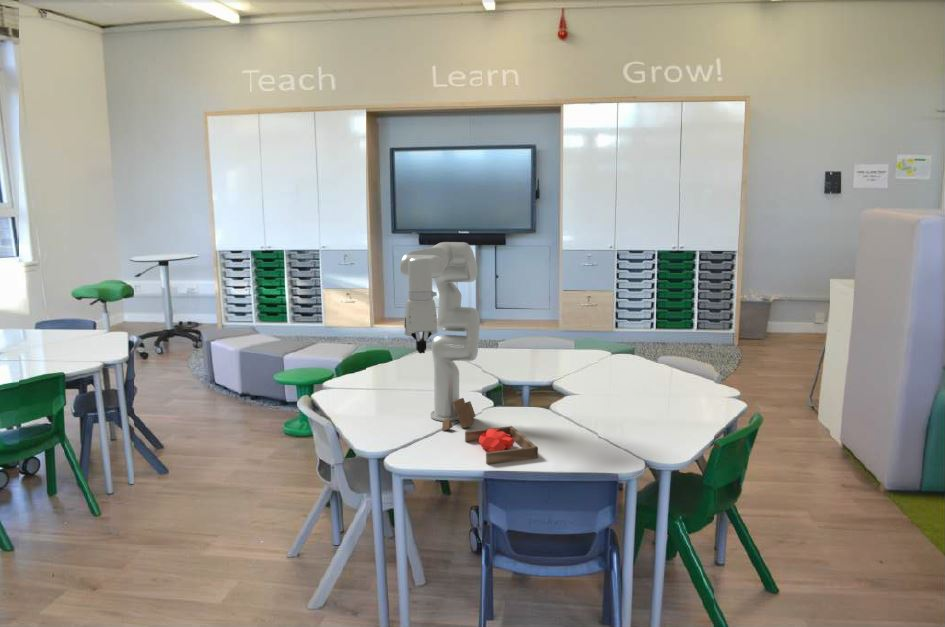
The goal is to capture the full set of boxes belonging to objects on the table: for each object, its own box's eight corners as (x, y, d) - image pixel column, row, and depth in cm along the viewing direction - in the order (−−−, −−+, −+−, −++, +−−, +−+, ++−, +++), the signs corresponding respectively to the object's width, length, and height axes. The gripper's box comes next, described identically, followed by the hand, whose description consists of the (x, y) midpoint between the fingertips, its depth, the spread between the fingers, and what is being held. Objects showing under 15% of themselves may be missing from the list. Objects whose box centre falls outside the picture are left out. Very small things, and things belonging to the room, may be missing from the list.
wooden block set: (467, 423, 265) (457, 398, 266) (485, 417, 261) (476, 391, 262) (443, 435, 250) (434, 408, 250) (463, 429, 246) (453, 402, 246)
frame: (465, 441, 239) (465, 431, 238) (511, 435, 244) (511, 426, 244) (487, 464, 218) (487, 453, 218) (537, 457, 224) (537, 447, 223)
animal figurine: (484, 459, 223) (484, 444, 222) (475, 443, 238) (475, 429, 237) (519, 457, 225) (519, 442, 224) (508, 440, 240) (508, 426, 239)
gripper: (439, 293, 228) (440, 348, 231) (394, 295, 223) (396, 351, 226) (446, 296, 221) (446, 353, 224) (400, 298, 216) (401, 356, 219)
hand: (421, 352), depth 225 cm, fingers closed
